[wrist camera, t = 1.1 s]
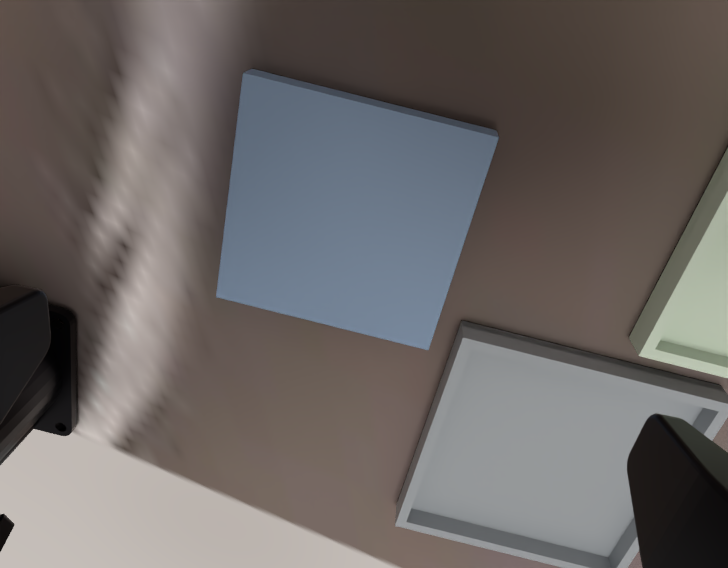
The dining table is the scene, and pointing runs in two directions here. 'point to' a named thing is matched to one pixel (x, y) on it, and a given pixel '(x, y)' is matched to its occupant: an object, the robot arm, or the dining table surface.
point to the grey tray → (541, 448)
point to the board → (348, 207)
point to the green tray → (693, 291)
